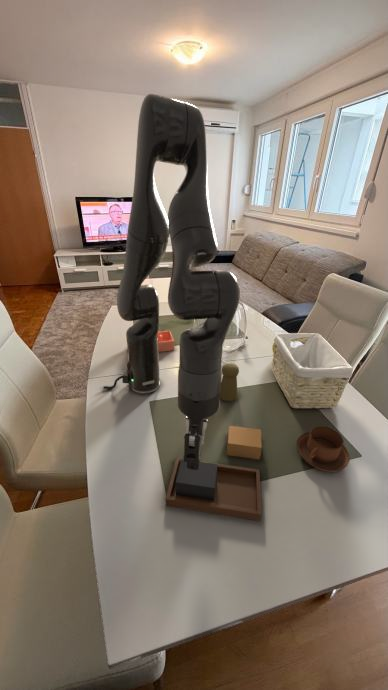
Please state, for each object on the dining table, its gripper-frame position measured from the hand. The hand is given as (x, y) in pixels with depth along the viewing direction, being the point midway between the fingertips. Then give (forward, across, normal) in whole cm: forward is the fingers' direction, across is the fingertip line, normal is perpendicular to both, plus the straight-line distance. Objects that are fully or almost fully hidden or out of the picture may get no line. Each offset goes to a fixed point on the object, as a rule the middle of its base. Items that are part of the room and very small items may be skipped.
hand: (196, 450), depth 60 cm
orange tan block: (+11, -13, +10) cm, 20 cm away
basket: (+11, -42, +29) cm, 52 cm away
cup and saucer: (+11, -14, +29) cm, 34 cm away
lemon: (+12, -62, +23) cm, 67 cm away
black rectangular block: (+10, 0, 0) cm, 10 cm away
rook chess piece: (+12, -69, +8) cm, 70 cm away
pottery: (+12, -60, -28) cm, 67 cm away
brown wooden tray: (+11, 0, +4) cm, 12 cm away
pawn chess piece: (+12, -34, +5) cm, 36 cm away
